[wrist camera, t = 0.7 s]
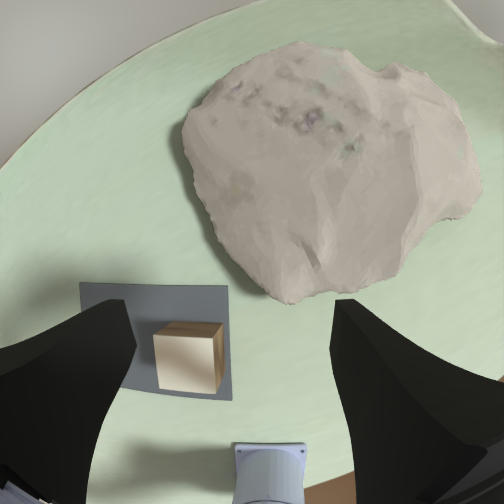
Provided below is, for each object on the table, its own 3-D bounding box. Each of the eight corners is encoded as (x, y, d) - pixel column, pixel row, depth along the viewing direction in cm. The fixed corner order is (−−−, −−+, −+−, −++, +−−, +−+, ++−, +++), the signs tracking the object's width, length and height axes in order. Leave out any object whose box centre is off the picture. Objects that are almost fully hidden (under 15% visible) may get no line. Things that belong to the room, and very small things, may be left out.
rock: (490, 236, 24) (237, 311, 29) (422, 57, 25) (186, 107, 29) (532, 235, 16) (216, 333, 21) (442, 22, 17) (156, 74, 22)
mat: (232, 399, 27) (232, 400, 27) (94, 380, 28) (92, 381, 28) (227, 285, 27) (227, 286, 26) (80, 282, 28) (79, 282, 28)
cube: (225, 370, 27) (215, 394, 22) (177, 367, 27) (159, 388, 22) (223, 322, 27) (212, 338, 22) (173, 321, 27) (153, 335, 22)
